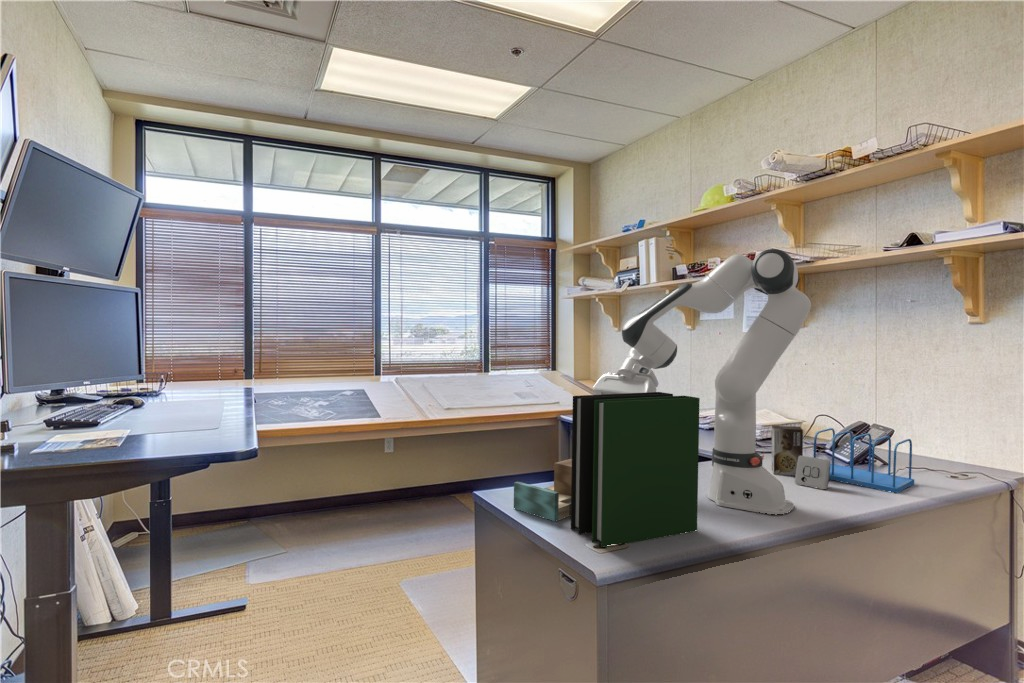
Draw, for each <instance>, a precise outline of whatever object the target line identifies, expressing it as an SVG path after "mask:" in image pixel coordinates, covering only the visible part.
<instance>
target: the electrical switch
mask: <svg viewBox="0 0 1024 683" xmlns="http://www.w3.org/2000/svg"><path fill="white" fill-rule="evenodd" d="M831 464H832V463H831V460H829V459H823V458H818V457H816V458H814V456H813V457H811V456H805V455H803V456H799V457H798V462H797V469H796V476H794V477H795V479H794V482H795V484H796V485H797V484H799V485H798V486H802V485H805V486H804V487H807V486H811V487H810V488H812V487H817V488H821V489H826V490H827V489H828V488H827V487H829V482H830V481H829V480H830V479H829V474H830V466H831ZM817 488H816V489H817ZM821 489H820V490H821Z"/></svg>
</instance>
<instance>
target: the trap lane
mask: <svg viewBox="0 0 1024 683" xmlns="http://www.w3.org/2000/svg"><path fill="white" fill-rule="evenodd" d="M514 508H515V509H514ZM513 509H514V510H516V509H518V510H517V511H519V510H521V511H520V512H522V511H525V512H528V513H527V514H529V513H531V514H530V515H532V514H535V515H538V516H541V517H544V518H547V519H550V520H549V521H551V520H553V521H552V522H554V521H555V522H557V521H556V520H558V521H560V520H563V519H565V518H564V517H566V518H567V516H568V517H571V516H570V515H571V496H568V495H564V494H561V493H559V492H555V491H554V485H551V486H548V487H544V488H543V487H540V486H536V485H533V484H528V483H525V482H522V481H515V482H513ZM525 512H524V513H525ZM535 515H534V516H535ZM538 516H537V517H538ZM541 517H540V518H541ZM544 518H543V519H544ZM562 518H563V519H562ZM547 519H546V520H547ZM559 519H560V520H559Z"/></svg>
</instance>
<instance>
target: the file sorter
mask: <svg viewBox="0 0 1024 683" xmlns="http://www.w3.org/2000/svg"><path fill="white" fill-rule="evenodd" d="M828 431H832V447H831V448H832V450H831V454H832V455H831V457H832V458H831V463H830V464H831V466H830V474H829V480H830V479H832V480H831V481H834V480H838V481H837V482H839V481H842V482H841V483H844V482H848V483H847V484H849V483H853V484H852V485H854V484H858V485H857V486H859V485H862V486H861V487H863V486H866V487H865V488H868V487H871V488H870V489H873V488H876V489H875V490H878V489H880V490H879V491H882V490H885V491H884V492H887V491H891V492H890V493H892V492H896V493H895V494H898V493H900V492H902V491H904V490H906V489H908V488H909V487H911V486H913V485H915V479H914V478H912V467H913V466H912V462H913V460H912V459H913V455H912V454H913V442H912V439H911V438H906V439H904V440H902V441H899V442H896V443H895V445H894V448H893V449H894V450H893V466H892V467H893V468H892V474H891V464H892V463H891V462H892V460H891V458H892V440H891V437H890V435H885V436H882V437H880V438H876V439H875V440H874V441H873V443H872V435H871V433H870V432H869V433H868V432H867V433H864V434H863V433H862V434H859V435H856V436H853V432H852V431H851V430H846V431H842V432H838V433H836V432H835V429H834V428H831V427H830V428H826V429H822V430H819V431H818V430H817V432H816V433H815V434H814V439H813V442H814V443H813V458H817V440H818V435H819V434H821V433H824V432H828ZM848 433H849V435H850V446H849V447H850V455H849V466H844V465H840V464H835V453H836V452H835V451H836V450H835V445H836V438H837V437H838V436H840V435H845V434H848ZM866 436H868V439H869V440H868V442H869V443H868V470H867V469H861V468H856V467H854V461H855V460H854V459H855V458H854V456H855V455H854V454H855V442H856V440H857V439H860V438H862V437H866ZM885 439H887V440H888V456H887V457H888V459H887V460H888V461H887V462H888V464H887V465H888V466H887V473H883V472H877V471H875V448H876V443H877V442H879V441H882V440H885ZM907 442H909V453H908V454H909V456H908V457H909V458H908V462H909V463H908V477H904V476H900V475H896V471H897V470H896V469H897V451H898V450H897V449H898V447H899V445H901V444H904V443H907ZM907 487H908V488H907ZM905 488H906V489H905ZM903 489H904V490H903ZM901 490H902V491H901ZM899 491H900V492H899ZM897 492H898V493H897Z"/></svg>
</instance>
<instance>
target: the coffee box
mask: <svg viewBox="0 0 1024 683" xmlns="http://www.w3.org/2000/svg"><path fill="white" fill-rule="evenodd" d="M803 439H804V429H803V428H802V427H801V426H797V425H796V426H794V425H793V426H792V425H775V424H772V425H771V465H770V466H771V468H770V469H771V473H772V475H778V474H779V475H778V476H791V475H794V477H796V469H797V462H798V457H799V456H804V454H803V451H804V448H803V447H804V446H803V445H804V442H803V441H804V440H803Z"/></svg>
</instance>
